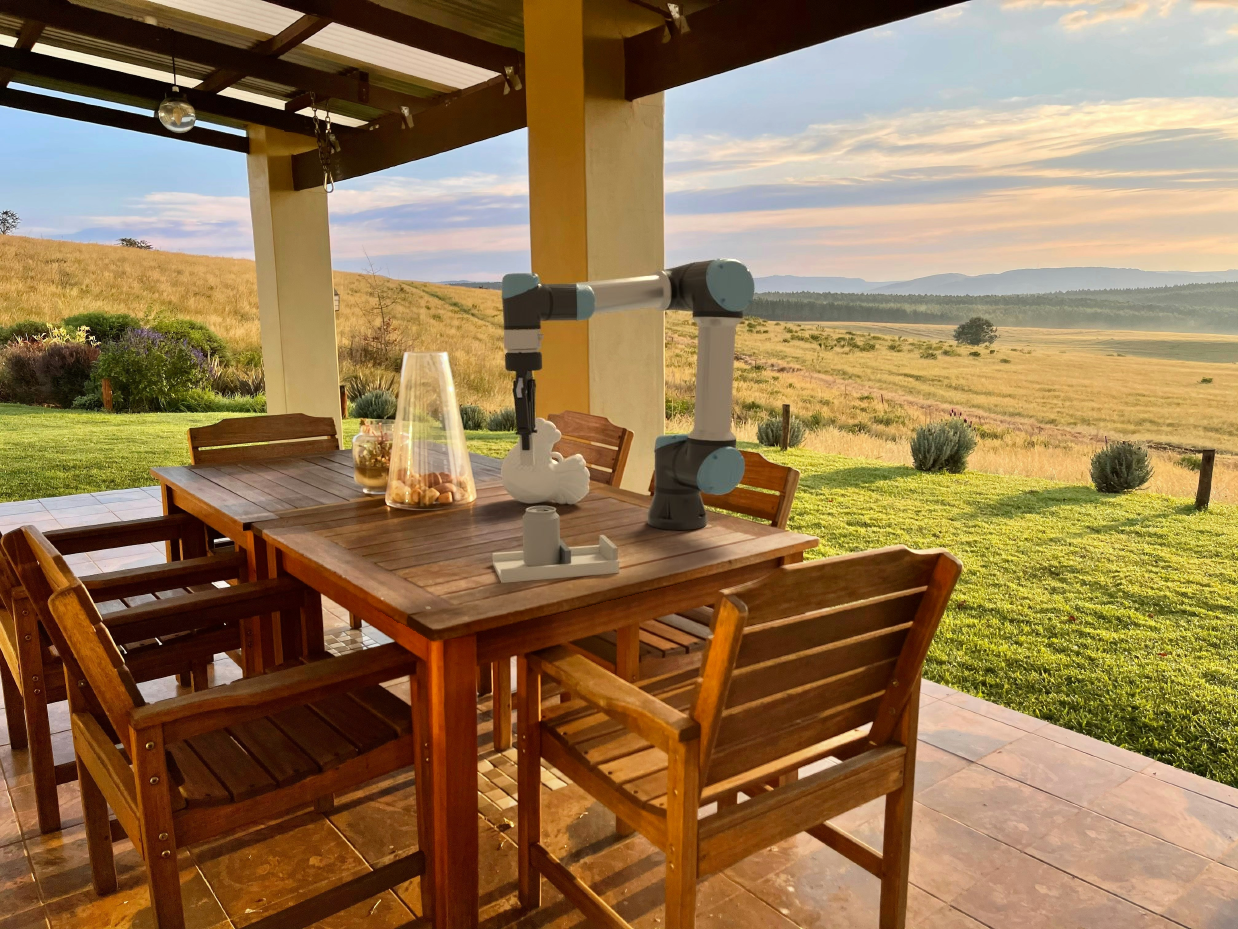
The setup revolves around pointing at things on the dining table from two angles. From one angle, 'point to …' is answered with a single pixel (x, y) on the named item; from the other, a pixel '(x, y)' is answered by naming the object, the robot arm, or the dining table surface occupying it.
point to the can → (541, 536)
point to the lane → (582, 564)
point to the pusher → (564, 553)
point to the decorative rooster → (545, 471)
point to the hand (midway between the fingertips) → (527, 464)
